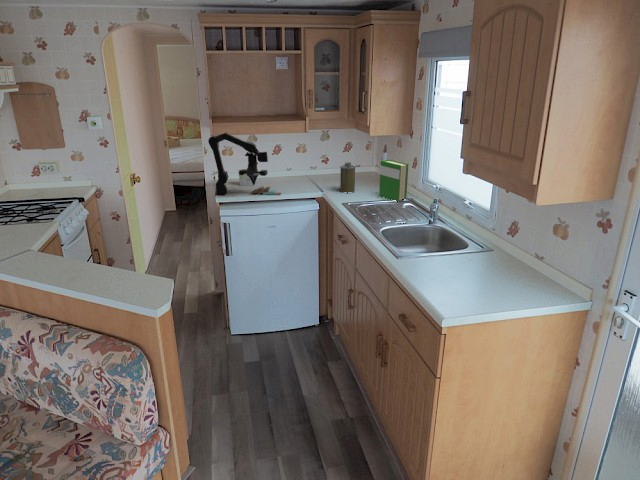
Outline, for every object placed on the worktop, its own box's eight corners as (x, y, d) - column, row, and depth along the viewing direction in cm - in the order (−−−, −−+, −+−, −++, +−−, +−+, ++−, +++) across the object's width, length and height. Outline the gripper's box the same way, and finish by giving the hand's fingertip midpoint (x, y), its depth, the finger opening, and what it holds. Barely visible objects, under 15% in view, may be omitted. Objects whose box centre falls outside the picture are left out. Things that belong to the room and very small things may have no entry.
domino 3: (268, 194, 314) (279, 194, 313) (270, 192, 318) (281, 192, 317) (268, 196, 314) (279, 196, 313) (270, 194, 319) (281, 194, 318)
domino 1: (251, 192, 315) (261, 188, 313) (253, 190, 320) (263, 186, 317) (252, 194, 316) (262, 190, 313) (254, 192, 320) (264, 188, 318)
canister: (344, 188, 328) (344, 160, 321) (357, 190, 323) (358, 162, 316) (337, 192, 319) (337, 163, 312) (350, 194, 314) (350, 165, 307)
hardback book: (406, 200, 299) (408, 163, 291) (397, 202, 295) (400, 165, 287) (387, 194, 313) (388, 159, 304) (379, 196, 309) (380, 160, 300)
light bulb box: (256, 183, 343) (255, 169, 339) (253, 185, 337) (253, 171, 333) (242, 183, 344) (240, 169, 340) (239, 185, 338) (238, 171, 334)
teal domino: (262, 192, 314) (274, 191, 313) (264, 190, 318) (275, 189, 317) (263, 194, 314) (274, 193, 313) (264, 192, 319) (276, 192, 318)
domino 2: (257, 192, 314) (267, 188, 312) (259, 190, 319) (269, 186, 317) (258, 194, 315) (268, 190, 313) (260, 192, 319) (270, 188, 317)
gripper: (235, 164, 304) (237, 187, 310) (262, 165, 301) (263, 188, 307) (240, 161, 314) (242, 183, 320) (267, 161, 311) (268, 184, 317)
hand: (253, 184), depth 315 cm, fingers closed
